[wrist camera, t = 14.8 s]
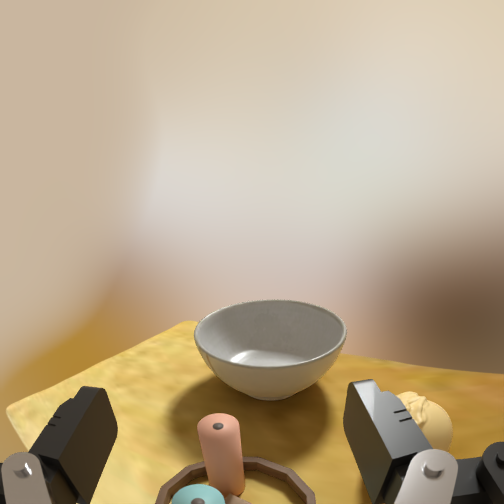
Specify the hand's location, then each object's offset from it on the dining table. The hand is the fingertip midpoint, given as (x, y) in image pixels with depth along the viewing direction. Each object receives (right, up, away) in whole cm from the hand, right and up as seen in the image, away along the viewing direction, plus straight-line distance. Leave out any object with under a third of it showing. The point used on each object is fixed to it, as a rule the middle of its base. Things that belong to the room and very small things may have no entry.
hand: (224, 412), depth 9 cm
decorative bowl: (+5, -20, +49) cm, 53 cm away
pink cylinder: (-2, -25, +24) cm, 35 cm away
